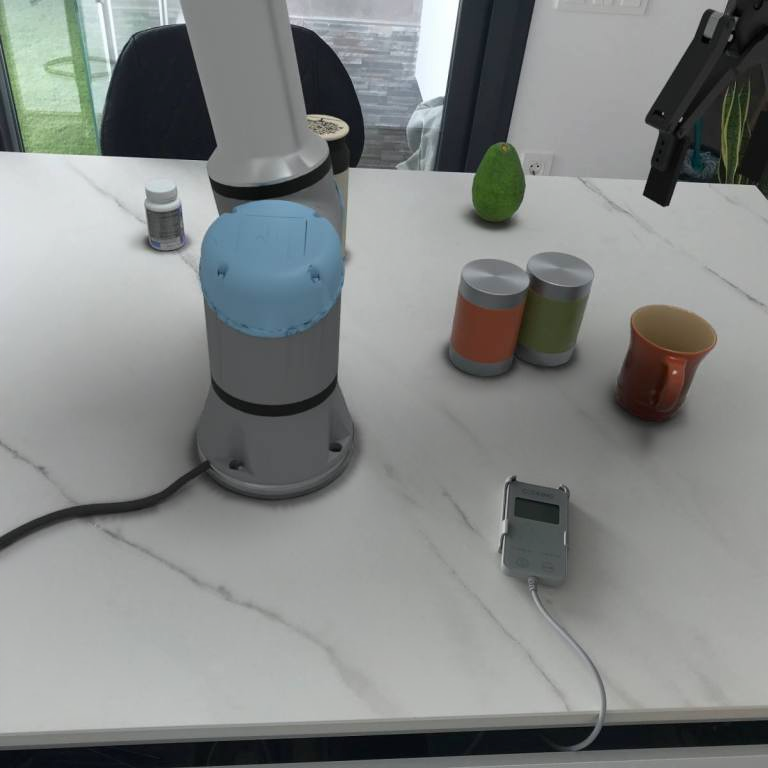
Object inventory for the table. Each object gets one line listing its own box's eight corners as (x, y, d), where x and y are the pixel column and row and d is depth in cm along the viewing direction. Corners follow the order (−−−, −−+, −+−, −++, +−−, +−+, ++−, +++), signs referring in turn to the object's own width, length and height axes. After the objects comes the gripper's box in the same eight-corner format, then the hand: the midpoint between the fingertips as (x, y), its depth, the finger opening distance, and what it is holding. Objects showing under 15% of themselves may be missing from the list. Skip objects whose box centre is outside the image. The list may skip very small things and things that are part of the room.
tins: (463, 381, 87) (477, 298, 80) (438, 342, 92) (450, 262, 85) (583, 362, 91) (607, 282, 84) (554, 326, 97) (574, 248, 90)
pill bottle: (191, 246, 105) (185, 189, 100) (157, 254, 103) (150, 196, 98) (177, 231, 108) (171, 174, 103) (144, 238, 106) (136, 181, 101)
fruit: (456, 218, 117) (467, 141, 110) (486, 202, 122) (499, 128, 115) (499, 237, 114) (514, 159, 106) (528, 220, 118) (544, 144, 111)
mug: (604, 372, 90) (628, 298, 83) (681, 386, 89) (712, 312, 82) (607, 441, 81) (634, 364, 74) (692, 457, 80) (727, 380, 73)
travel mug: (332, 275, 102) (336, 143, 91) (276, 261, 104) (274, 130, 92) (353, 247, 108) (360, 120, 97) (300, 235, 110) (301, 109, 98)
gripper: (726, -41, 55) (641, 229, 68) (923, -52, 65) (816, 183, 79) (649, -63, 59) (583, 193, 73) (844, -70, 70) (755, 155, 84)
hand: (704, 188), depth 76 cm, fingers open, 13 cm apart
